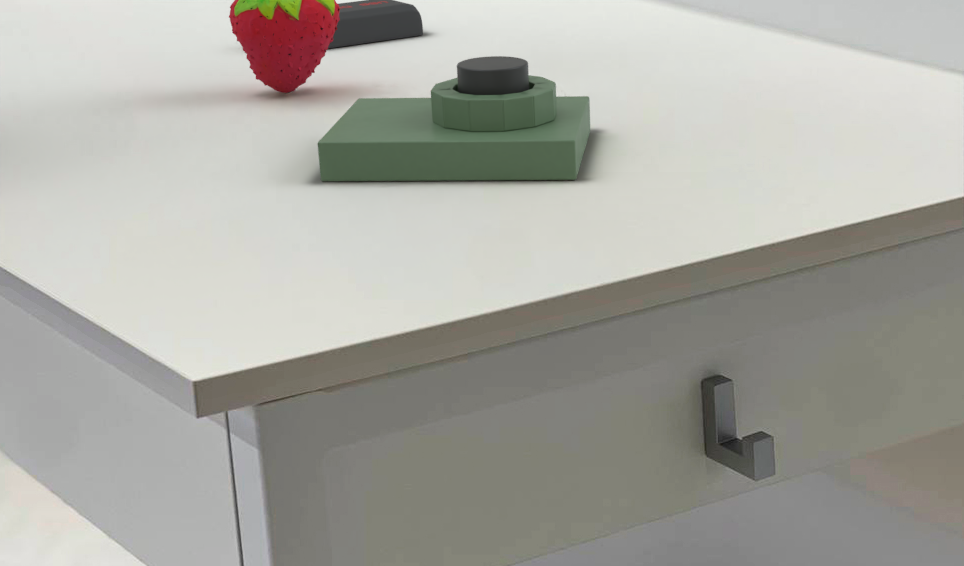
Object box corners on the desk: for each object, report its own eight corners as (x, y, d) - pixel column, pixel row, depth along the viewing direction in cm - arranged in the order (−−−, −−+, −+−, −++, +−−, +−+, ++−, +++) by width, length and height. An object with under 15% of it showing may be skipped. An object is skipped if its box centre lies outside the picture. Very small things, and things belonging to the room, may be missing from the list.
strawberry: (359, 96, 109) (347, -58, 105) (249, 108, 106) (232, -49, 102) (335, 80, 113) (323, -67, 110) (230, 91, 111) (213, -59, 107)
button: (453, 101, 90) (451, 70, 89) (463, 86, 93) (462, 56, 93) (525, 101, 90) (524, 69, 89) (532, 85, 93) (531, 55, 93)
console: (320, 181, 88) (314, 109, 87) (361, 133, 98) (355, 68, 97) (576, 180, 87) (574, 107, 86) (590, 132, 98) (588, 65, 96)
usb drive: (423, 34, 129) (421, 0, 128) (286, 54, 123) (282, 17, 122) (391, 26, 133) (389, -8, 132) (256, 45, 127) (253, 9, 126)
